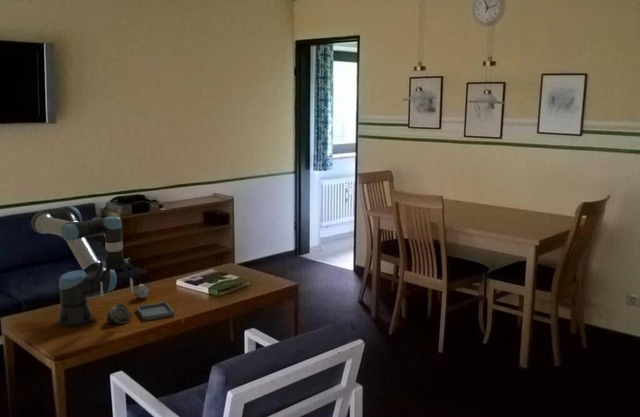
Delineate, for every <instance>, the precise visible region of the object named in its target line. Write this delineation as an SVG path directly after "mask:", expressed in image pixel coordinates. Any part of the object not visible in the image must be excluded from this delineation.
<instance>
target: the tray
mask: <svg viewBox="0 0 640 417" xmlns="http://www.w3.org/2000/svg"><path fill="white" fill-rule="evenodd" d="M136 312H137V313H138V315H139V316H140V318H141V319H142V321H143V322H145V321H146V322H147V321H152V320H159V319H164V318H170V317H171V318H172V317H174V316H175V311H174V310H173V308H172V307H171V306H170V304H169V303H167V301H164V302H155V303H150V304H144V305H138V306H136Z"/></svg>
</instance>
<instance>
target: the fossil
mask: <svg viewBox="0 0 640 417" xmlns="http://www.w3.org/2000/svg"><path fill="white" fill-rule="evenodd" d="M131 319H132V313H131V312H130V309H129V308H128V306H126V305H125V304H124V303H123V304H122V303H118V304H117V303H116V304H114V305H113V306H110V308H109V312H108V314H107V318H106V322H107V324H111V323H115V324H117V325H125V324H127V323H128V322H130V321H131Z"/></svg>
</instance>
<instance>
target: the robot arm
mask: <svg viewBox="0 0 640 417" xmlns="http://www.w3.org/2000/svg"><path fill="white" fill-rule="evenodd" d="M30 222H31V223H30V224H31V227H32V229H33V230H34V231H35V232H37V233H39V234H42V235H46V234H52V235H56V236H59V237H61V238H62V239H63V240H64V241H65V242H66V243H67V245H68V247H69V248H70V251H72V253H73V256H74V257H75V259H76V261H77V262H78V264H79V266H80V267H81V269H77V270H72V271H68V272H66V273H63V274H61V276H60V277H59V279H58V280H59V281H58V287H59V299H60V309H59V314H58V317H57V323H58V325H59V326H61V327H65V328H67V327H68V328H70V327H79V326H85V325H86V324H89V323H90V322H92V320H93V313H92V311H91V308H90V306H89V304H88V297H89V298H90V297H92V296H95V295H96V296H97V295H100V297H101V298H103V297H104V294H105V293H108V292H110V291H113V290H114V289H115V288H116V285H117V273H116V270H120V269H121V270H123V271H124V273H126V274H127V275H128V276H130V277H129V283H130V284H129V285H130V286H129V288H130V292H131V293H134V290H133V289H134V286H135V285H136V278H138V277H139V276H140V275H139V274H138V272H137V269H135V266H134V265H133V264H132V261H131V258H130V257H127V258H125V259H124V250H123V248H124V245H123V228H122V226H123V224H122V220H121V217H119V216H117V215H116V216H113V215H111V216H107V217H100V216H99V217H93V218H92V219H91V220H85V221H84V220H83V218H82V214H81V213H80V211H79V209H78V208H76V207H75V206H73V205H72V206H71V205H70V206H62V207H56V208H49V209H48V208H47V209H42V210H40V211H38V212H36V213H35V214H34V215H33V217H32V219H31V221H30ZM95 236H104V243H105V245H104V246H105V250H106V251H105V261H102V260H99V258H98V256H97V255H96V253H95V251H94V250H93V248H92V247H91V245H90V243H89V241H88V239H87V238H91V237H95ZM125 263H126V264H128V266H129V267H130V269H131V270H132V272H133V273H134V274H133V273H132V272H130V270H129V269H127V267H125V265H124V264H125Z"/></svg>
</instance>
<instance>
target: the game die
mask: <svg viewBox="0 0 640 417" xmlns="http://www.w3.org/2000/svg"><path fill="white" fill-rule="evenodd" d="M149 288H150V286H148V283H147V284H143V283H142V282H140V283H139V285H136V287H135V288H133V291H134V292H135V294H134V296H136V299H138V298H141V299H142V301H144V300H145V298H146V297H147V296H148V295H149V294H151V293H152V291H151V292H150V289H149Z"/></svg>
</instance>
